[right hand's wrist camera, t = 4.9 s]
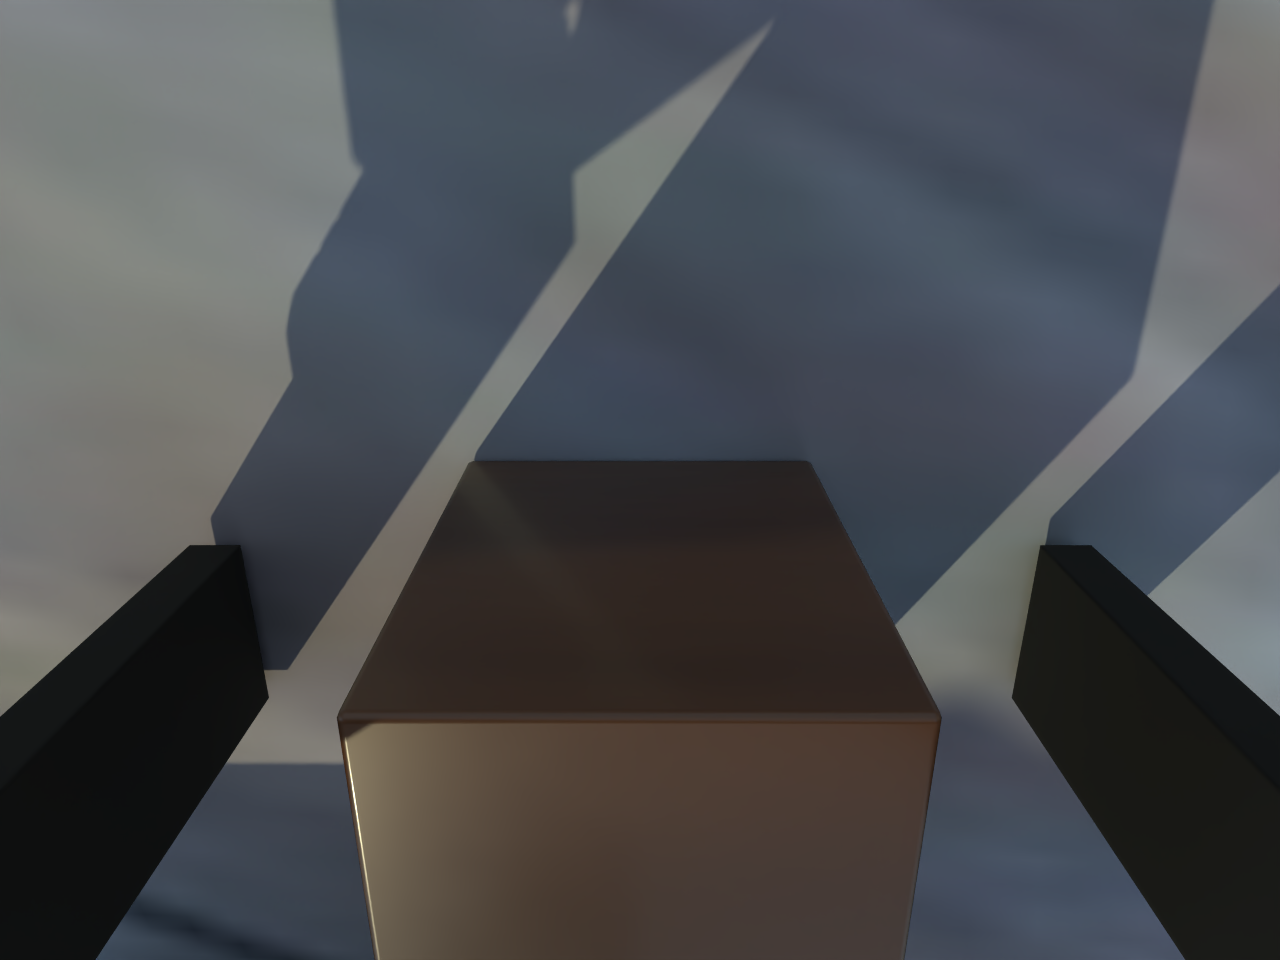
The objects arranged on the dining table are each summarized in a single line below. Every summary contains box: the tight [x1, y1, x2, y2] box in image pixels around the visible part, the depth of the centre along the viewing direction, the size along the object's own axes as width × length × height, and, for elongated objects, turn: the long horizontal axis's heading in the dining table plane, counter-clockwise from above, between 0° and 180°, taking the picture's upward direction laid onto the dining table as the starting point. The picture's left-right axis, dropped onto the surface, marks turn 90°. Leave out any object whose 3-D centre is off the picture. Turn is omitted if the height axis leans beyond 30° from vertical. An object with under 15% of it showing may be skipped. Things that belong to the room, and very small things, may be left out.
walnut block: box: [337, 461, 942, 960], centre depth 11 cm, size 5×5×6 cm
